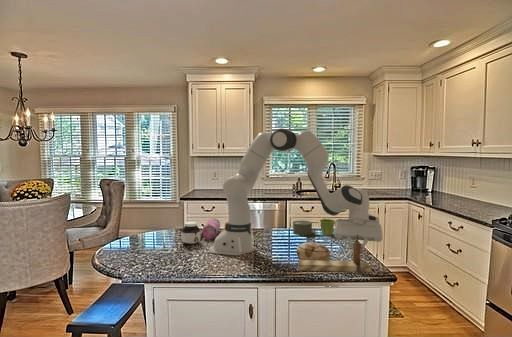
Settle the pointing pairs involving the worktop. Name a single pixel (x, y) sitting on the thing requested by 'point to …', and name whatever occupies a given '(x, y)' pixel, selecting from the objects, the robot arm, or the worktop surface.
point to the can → (302, 228)
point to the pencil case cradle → (202, 234)
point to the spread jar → (190, 233)
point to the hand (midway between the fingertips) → (357, 247)
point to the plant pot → (327, 226)
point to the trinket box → (313, 252)
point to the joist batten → (333, 266)
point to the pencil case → (211, 229)
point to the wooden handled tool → (357, 252)
